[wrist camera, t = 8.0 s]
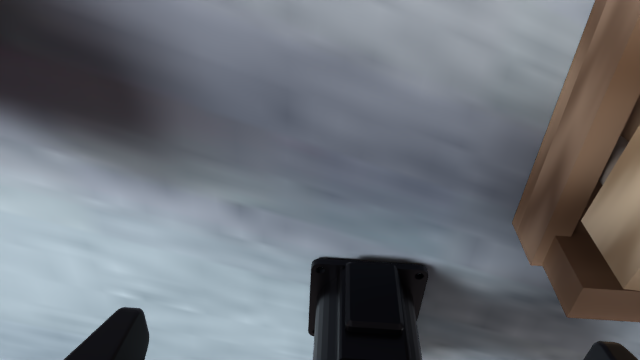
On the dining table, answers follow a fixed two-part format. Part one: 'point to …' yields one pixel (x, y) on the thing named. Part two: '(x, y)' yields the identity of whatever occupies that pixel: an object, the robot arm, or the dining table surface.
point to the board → (619, 217)
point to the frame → (585, 165)
